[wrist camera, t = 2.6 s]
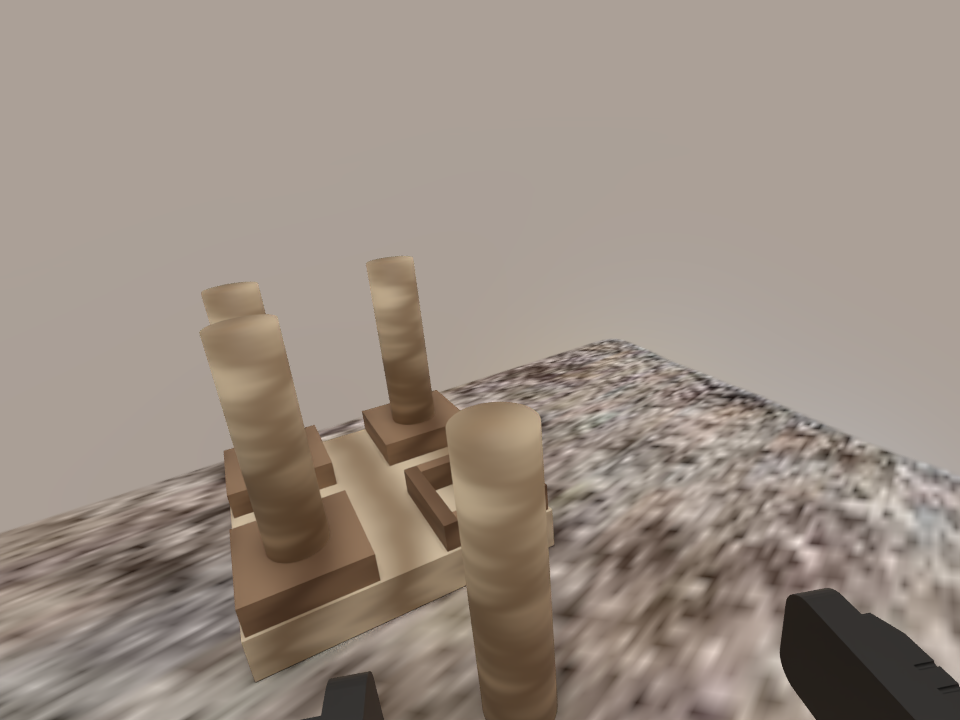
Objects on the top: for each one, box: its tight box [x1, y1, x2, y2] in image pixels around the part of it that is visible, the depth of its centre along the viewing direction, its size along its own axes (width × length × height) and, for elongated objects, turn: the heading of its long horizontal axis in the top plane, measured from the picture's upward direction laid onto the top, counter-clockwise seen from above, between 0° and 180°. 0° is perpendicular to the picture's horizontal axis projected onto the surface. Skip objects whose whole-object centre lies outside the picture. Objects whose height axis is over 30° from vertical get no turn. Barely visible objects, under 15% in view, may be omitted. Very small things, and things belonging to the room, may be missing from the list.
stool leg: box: [446, 402, 557, 720], centre depth 23 cm, size 4×4×16 cm
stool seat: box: [199, 256, 554, 682], centre depth 38 cm, size 20×20×19 cm
